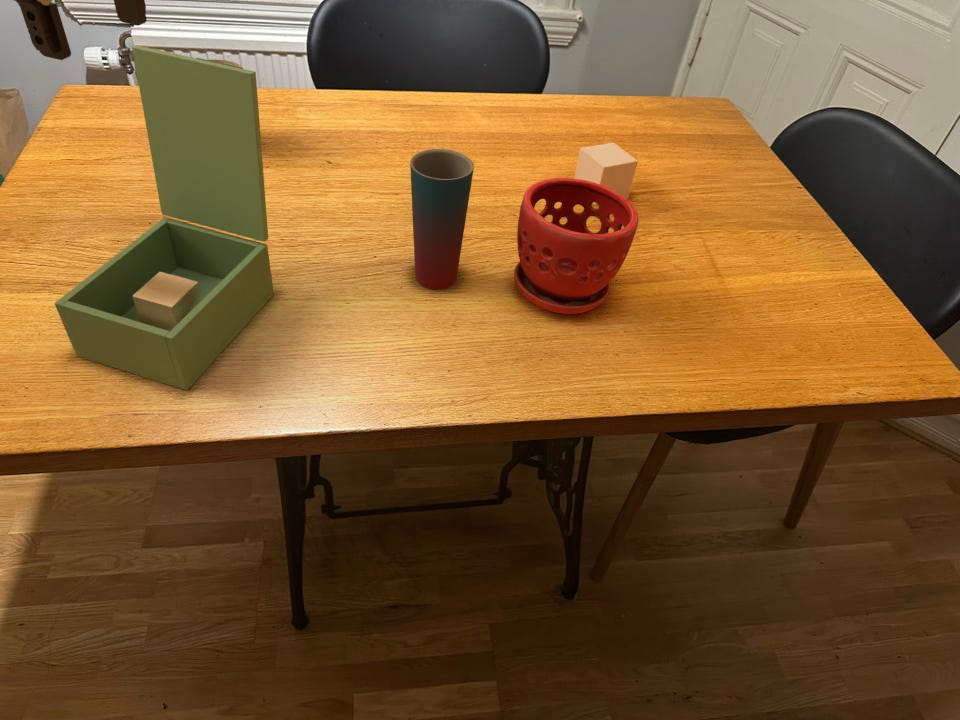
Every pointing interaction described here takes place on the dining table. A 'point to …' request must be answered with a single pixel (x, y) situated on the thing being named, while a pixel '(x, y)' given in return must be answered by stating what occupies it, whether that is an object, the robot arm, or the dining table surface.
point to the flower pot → (571, 244)
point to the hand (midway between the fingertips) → (96, 39)
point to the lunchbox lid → (204, 140)
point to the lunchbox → (201, 333)
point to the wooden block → (166, 300)
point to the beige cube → (607, 167)
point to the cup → (439, 214)
